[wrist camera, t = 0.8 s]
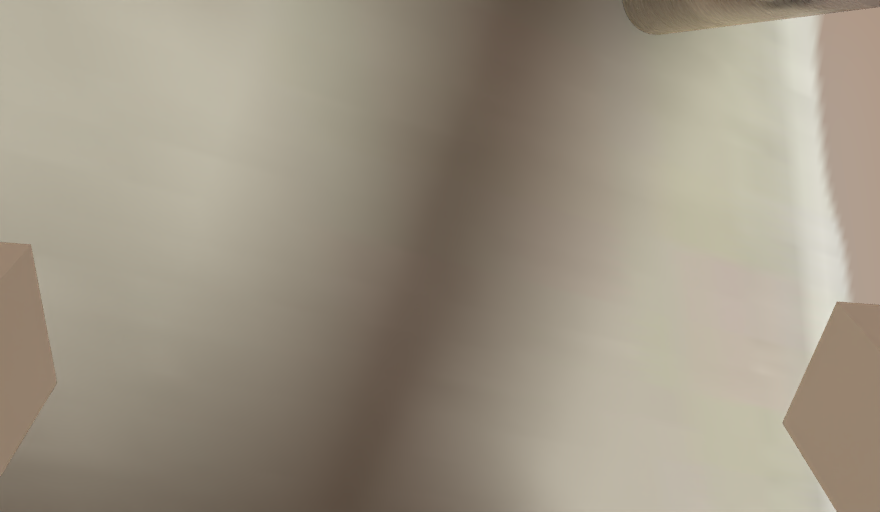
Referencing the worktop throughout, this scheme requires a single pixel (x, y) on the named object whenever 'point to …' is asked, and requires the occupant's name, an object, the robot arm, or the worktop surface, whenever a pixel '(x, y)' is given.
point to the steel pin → (727, 12)
